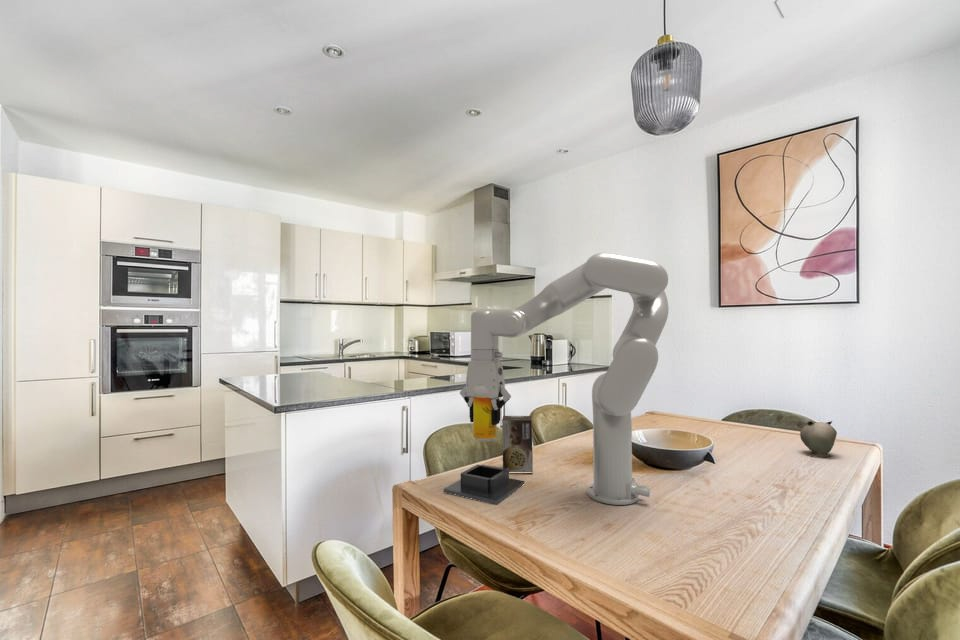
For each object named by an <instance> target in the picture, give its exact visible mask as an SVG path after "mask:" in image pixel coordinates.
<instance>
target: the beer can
mask: <svg viewBox="0 0 960 640" xmlns="http://www.w3.org/2000/svg"><path fill="white" fill-rule="evenodd" d="M492 410H494V408H493V405H492V402H491V399H489V397H488V392H487V388H486V387H485V386H484V385H478V384H476V386H475V387H474V396H473V422H472V423H473V425H472V426H473V427H472V429H473V431H472V432H473V438H474V439H475V440H476V441H478V442H491V441H494V440H495V438H496V437H497V424H496V425H492Z"/></svg>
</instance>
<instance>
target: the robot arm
mask: <svg viewBox="0 0 960 640" xmlns="http://www.w3.org/2000/svg"><path fill="white" fill-rule="evenodd" d="M668 284H669V275H668V272H667V270H666V269H665V267H664V266H663V265H661V264H659V263H658V262H655V261H651V260H647V259H642V258H641V259H640V258H636V257H629V256H624V255H618V254H613V253H607V252H599V253H595V254H593V255H592V256H590V257H588V258H587V260H586V262H584V263H583V264H580V265H579V266H577V267H576V268H574V269H572V270H571V271H569V272H567V273H565V274H564V275H562V276H561V277H559V278H557V279H555V280H553V281H551V282H549V284H547V285H546V286H545V287H544V288H543V289H542V290H541V291H540V292H539V293H538V294H537V295H535V296H533V297H532V298H531V299H530V300H528V301H526V302H525V303H523V304H520V305H519V306H518V307H516V308H513V309H503V310H497V311H496V310H475V311H473V312H471V315H470V360H469V361H468V365H467V369H466V377H465V379H466V380H465V386H464V387H463V388H462V389H461V390H460V391H459V394H460V396H461V397H462V398H463V400H464V402H465V403H466V405H467V407H468V408H469V422H470V423H473V396H474V387H475V386H476V384H478V385H484V386H485V387H486V388H487V392H488V397H489V399H491V402H492V405H493V408H494V410H492V425H496V426H497V425H498V424H500V421H501V409H503V407H504V406H505V405H506V404H507V402H508V401H509V400H510V399H511V398H512V395H511V394H510V393H509V392H508V390H507V389H506V385H505V384H506V383H505V374H504V368H503V364H502V361H499V360H500V358H503V352H501V351H500V349H499V337H504V338H518V337H521V336H523V335H525V334H526V333H528V332H529V331H532V330H533V329H535V328H536V327H538V326H541V325H542V324H543V323H545V322H547V321H549V320H551V319H553V318H555V317H557V316H560V315H562V314H564V313H565V312H567V311H569V310H571V309H572V308H574V307H576V306H577V305H579V304H581V303H582V302H584V301H586V300H587V299H590V298H591V297H594V296H595V295H596V294H598V293H600V292H602V291H604V290H605V289H607V290H608V289H609V290H613V291H618V292H622V293H627V294H628V295H630V297H631V299H632V303H633V309H632V312H631V314H630V317H629V318H628V320H627V322H626V325H625V327H624V329H623V330H622V332H621V334H620V336H619V338H618V339H617V342H616V343H615V344H614V347H613V350H612V360H611V363H610V365H609V367H608V368H607V371H606V372H604V373H602V374H600V375H599V376H598V377H596V379H595V380H594V382H593V385H592V388H591V403H592V426H593V427H592V431H593V434H592V439H593V441H592V444H593V446H592V449H593V457H592V458H593V459H592V460H593V469H592V471H593V484H591V485H590V486H588V488H587V496H588V497H589V498H591V499H593V500H594V501H596V502H599V503H602V504H606V505H607V504H608V505H615V506H625V505H627V506H628V505H631V504H634V503H637V502H638V501H639V499H640V498H639V497H640V496H642V497H646V498H651V489H650V488H648V487H647V486H646V485H644V484H642V485H640V484H638V483H636V478H635V477H633V448H632V447H633V441H632V439H633V438H632V437H633V436H632V435H633V428H632V426H633V425H632V411H633V410H634V409H635V408H636V406H637V405H638V403H639V401H640V399H641V398H642V396H643V394H644V392H645V391H646V389H647V387H648V384H649V382H650V380H651V378H652V376H653V375H654V373H655V370H656V369H657V365H658V362H659V351H658V349H657V343H658V341H659V339H660V337H661V334H662V332H663V330H664V328H665V325H666V324H667V320H668V317H669V302H668V297H667V294H666V292H665V289H667V286H668Z"/></svg>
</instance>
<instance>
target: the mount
mask: <svg viewBox="0 0 960 640" xmlns="http://www.w3.org/2000/svg"><path fill="white" fill-rule="evenodd" d="M523 484H525V480H520V479H516V478H512V477H511V478H510V474H509V470H506V469H503V467H498V466H497V467H496V466H492V465H486V464H476V465H474V466H472V467H470V468H468V469H465V470H464V471H462V472H461V473H460V479H459V480H457V481H455V482H453V483H451V484H449V485H448V486H446V487H443V493H444V492H447V493H446V494H448V493H451V494H450V495H452V494H456V495H459V496H458V497H461V496H464V497H463V498H465V497H468V498H467V499H469V498H472V499H471V500H474V499H476V500H475V501H478V500H480V501H479V502H482V501H484V502H483V503H487V502H488V503H487V504H491V503H492V504H491V505H495V504H496V505H495V506H497V505H499V504H500V503H501V501H502V500H503V501H504V500H506V499H507V498H509V497H510V496H512V495H513V494H514V493H515V492H517V491H518V490H519V489H518V488H520V487H521V486H522V485H523ZM522 487H523V486H522ZM522 487H521V488H522ZM521 488H520V489H521ZM517 489H518V490H517ZM516 490H517V491H516ZM513 492H514V493H513ZM512 493H513V494H512ZM456 495H455V496H456ZM509 495H510V496H509ZM505 498H506V499H505ZM503 501H502V502H503ZM498 503H499V504H498Z"/></svg>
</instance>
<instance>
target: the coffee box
mask: <svg viewBox="0 0 960 640" xmlns="http://www.w3.org/2000/svg"><path fill="white" fill-rule="evenodd" d="M501 419H502V420H501V426H502V427H501V428H502V431H501V433H502V434H501V435H502V436H501V437H502V468H503V469H506V470H509V472H533V473H534V471H533V470H534V469H533V468H534V463H533V461H534V460H533V457H534V456H533V417H532V415H503V416H502V418H501Z"/></svg>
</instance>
